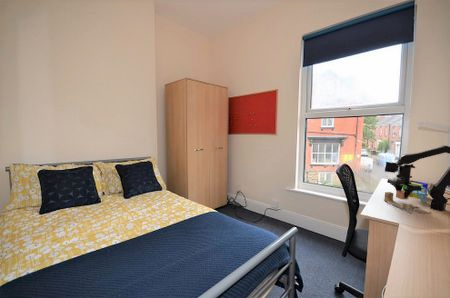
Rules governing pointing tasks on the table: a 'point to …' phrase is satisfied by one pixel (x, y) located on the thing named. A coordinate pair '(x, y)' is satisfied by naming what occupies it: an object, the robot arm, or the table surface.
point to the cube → (400, 195)
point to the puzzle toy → (419, 185)
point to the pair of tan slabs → (418, 208)
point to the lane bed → (409, 208)
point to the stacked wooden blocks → (389, 199)
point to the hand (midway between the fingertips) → (401, 196)
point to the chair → (421, 194)
